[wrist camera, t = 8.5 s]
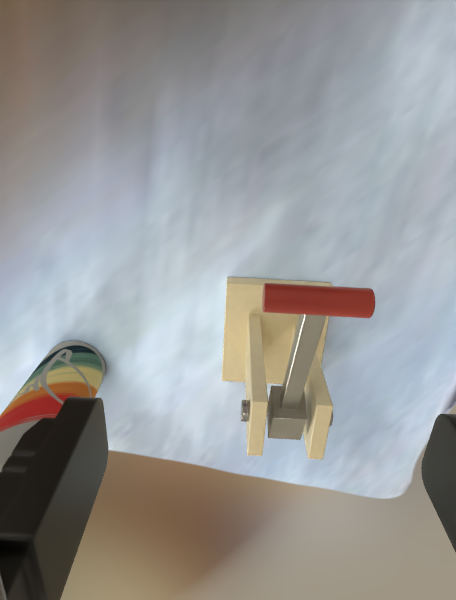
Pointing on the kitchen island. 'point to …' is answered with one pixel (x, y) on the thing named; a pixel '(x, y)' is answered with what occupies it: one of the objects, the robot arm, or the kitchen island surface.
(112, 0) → the kitchen island surface
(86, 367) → the lotion bottle
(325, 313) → the lever
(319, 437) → the bracket
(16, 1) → the kitchen island surface
